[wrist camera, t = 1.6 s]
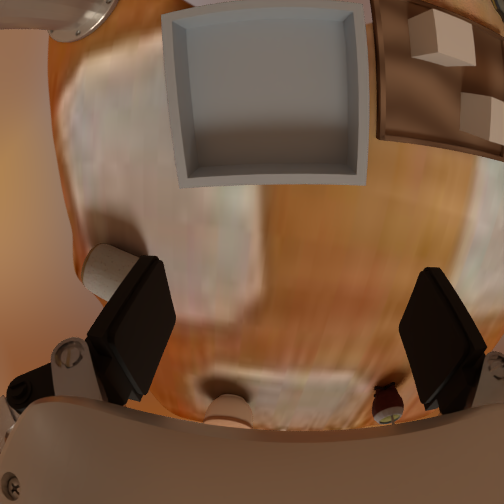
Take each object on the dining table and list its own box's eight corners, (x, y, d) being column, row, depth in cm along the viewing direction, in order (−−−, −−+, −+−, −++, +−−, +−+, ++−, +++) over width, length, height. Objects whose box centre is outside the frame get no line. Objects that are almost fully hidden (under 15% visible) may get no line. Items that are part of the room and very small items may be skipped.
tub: (178, 25, 21) (161, 14, 17) (350, 16, 19) (362, 4, 15) (193, 174, 31) (179, 188, 26) (353, 171, 29) (365, 185, 24)
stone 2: (460, 92, 21) (491, 96, 16) (487, 101, 20) (517, 108, 15) (459, 130, 23) (489, 141, 18) (485, 137, 23) (515, 149, 18)
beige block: (407, 19, 18) (432, 8, 12) (443, 30, 17) (471, 24, 12) (411, 57, 20) (438, 52, 15) (446, 66, 19) (476, 66, 14)
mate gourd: (382, 398, 54) (391, 453, 41) (360, 393, 52) (367, 453, 40) (405, 382, 50) (419, 440, 37) (384, 376, 49) (396, 440, 36)
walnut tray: (368, -9, 17) (371, -12, 16) (500, 38, 15) (505, 38, 14) (376, 138, 26) (379, 139, 25) (499, 159, 24) (504, 162, 23)
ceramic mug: (104, 231, 36) (74, 261, 30) (153, 250, 37) (129, 286, 30) (102, 282, 42) (80, 314, 35) (145, 301, 43) (126, 335, 36)
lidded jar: (258, 410, 59) (255, 444, 51) (215, 408, 61) (209, 441, 53) (251, 389, 53) (246, 428, 45) (202, 387, 55) (194, 424, 47)
